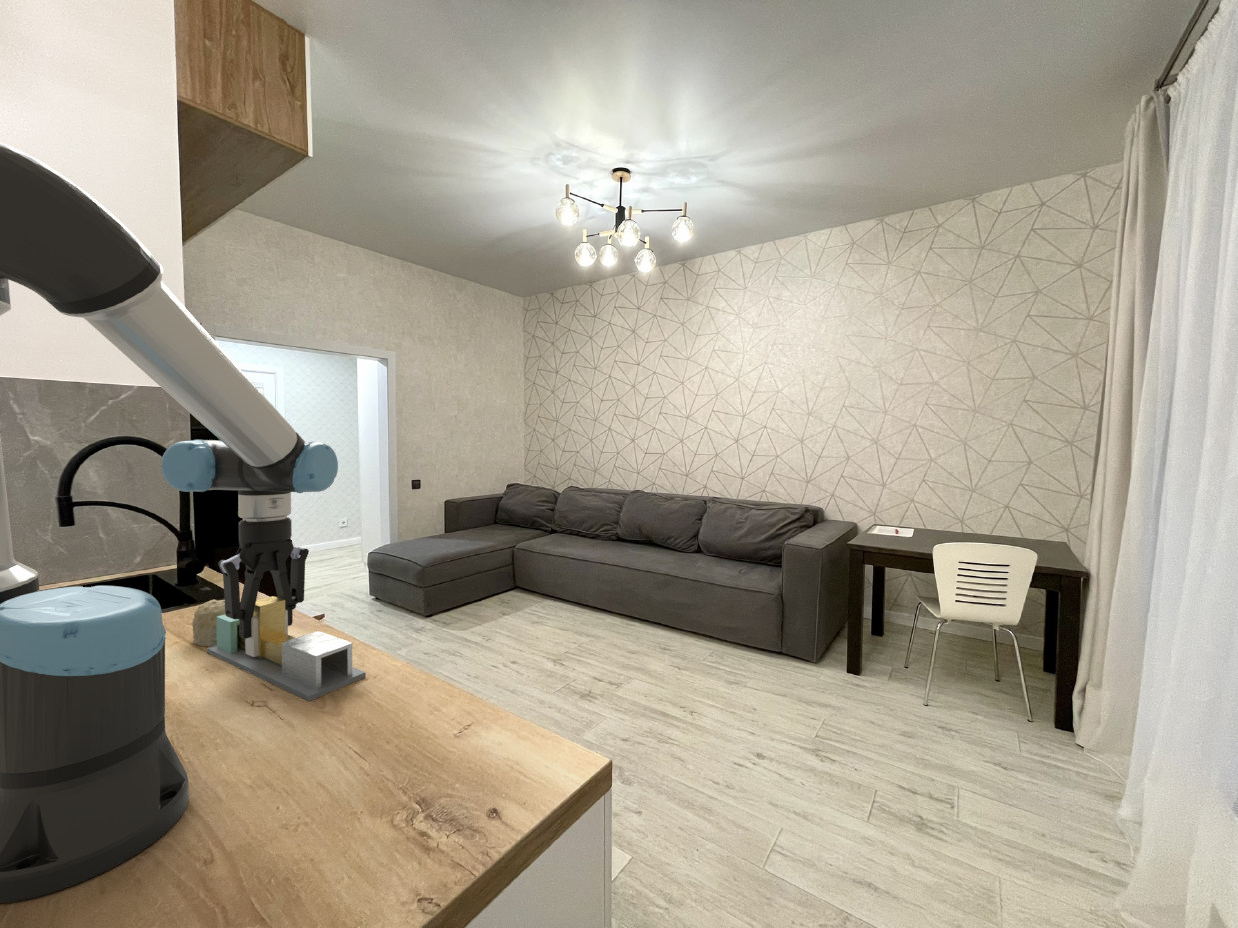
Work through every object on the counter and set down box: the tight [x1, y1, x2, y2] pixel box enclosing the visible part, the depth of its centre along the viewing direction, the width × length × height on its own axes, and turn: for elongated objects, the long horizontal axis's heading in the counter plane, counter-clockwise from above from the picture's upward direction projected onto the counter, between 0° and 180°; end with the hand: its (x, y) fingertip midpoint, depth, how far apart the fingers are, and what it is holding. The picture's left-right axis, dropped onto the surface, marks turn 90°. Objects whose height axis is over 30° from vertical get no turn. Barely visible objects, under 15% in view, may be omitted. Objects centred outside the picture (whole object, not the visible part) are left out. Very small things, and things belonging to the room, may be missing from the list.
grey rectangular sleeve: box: [282, 630, 353, 689], centre depth 81 cm, size 6×10×5 cm, turn 61°
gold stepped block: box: [237, 595, 296, 665], centre depth 87 cm, size 4×20×9 cm, turn 61°
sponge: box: [192, 599, 225, 647], centre depth 97 cm, size 9×10×10 cm
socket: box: [216, 615, 239, 654], centre depth 92 cm, size 7×5×6 cm
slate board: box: [206, 645, 367, 702], centre depth 86 cm, size 9×32×1 cm, turn 61°
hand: (267, 649), depth 88 cm, fingers closed on gold stepped block, 4 cm apart
